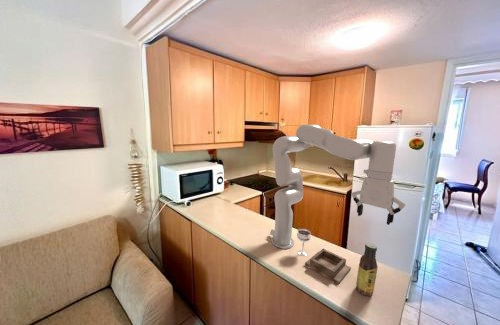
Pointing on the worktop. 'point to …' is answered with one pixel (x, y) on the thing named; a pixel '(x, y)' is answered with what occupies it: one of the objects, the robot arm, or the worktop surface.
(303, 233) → the wineglass
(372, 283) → the sauce bottle
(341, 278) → the caddy
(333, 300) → the worktop surface
